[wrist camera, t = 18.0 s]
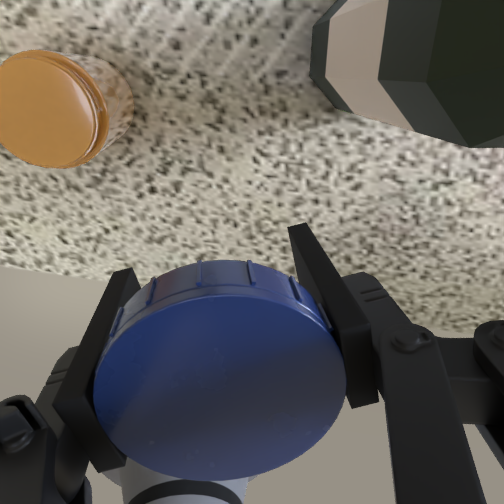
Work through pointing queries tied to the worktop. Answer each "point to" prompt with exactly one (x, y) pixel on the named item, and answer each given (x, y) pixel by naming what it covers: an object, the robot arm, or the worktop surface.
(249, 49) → the worktop surface
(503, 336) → the robot arm
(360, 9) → the wine bottle
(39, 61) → the jam jar
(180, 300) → the jam lid
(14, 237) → the worktop surface
